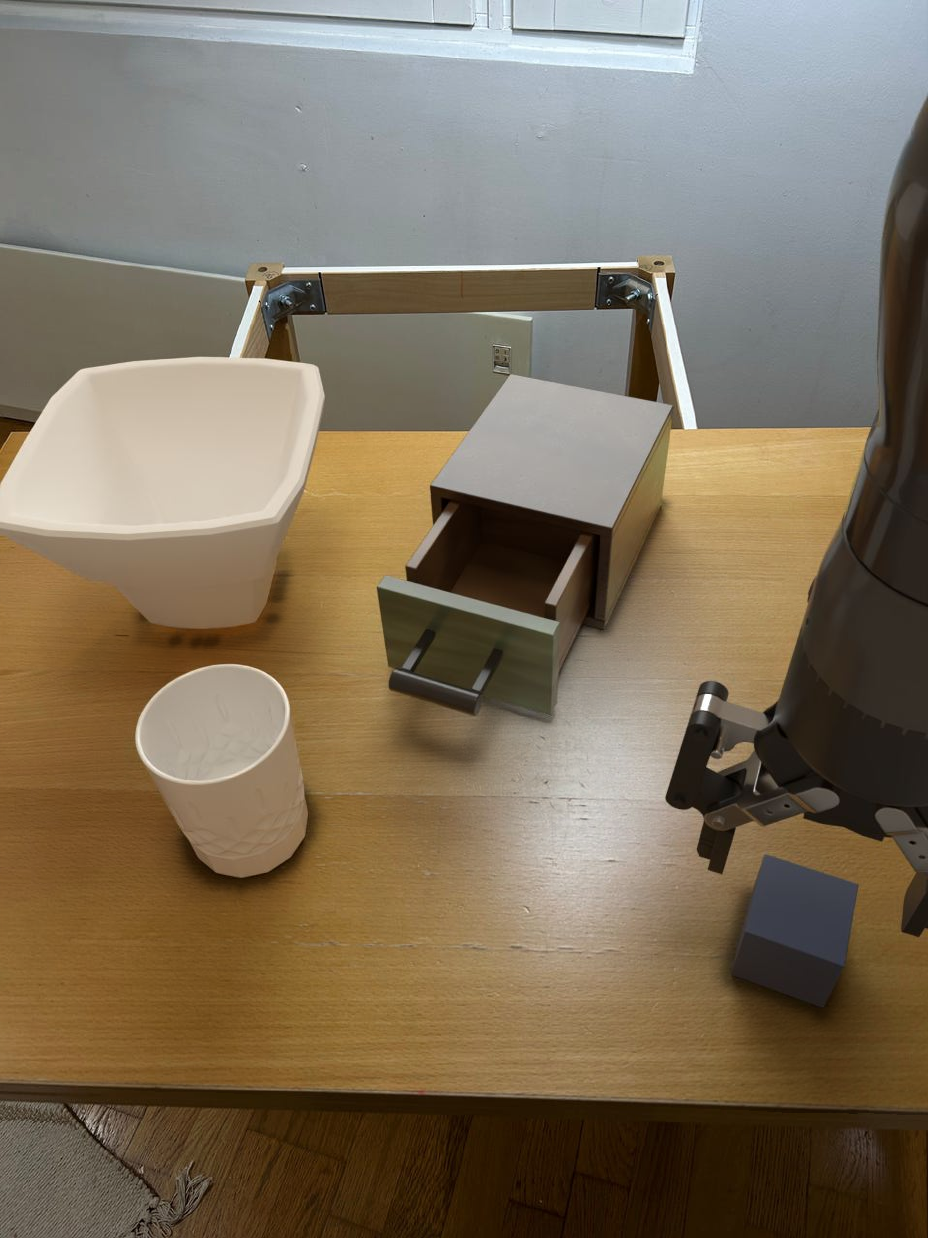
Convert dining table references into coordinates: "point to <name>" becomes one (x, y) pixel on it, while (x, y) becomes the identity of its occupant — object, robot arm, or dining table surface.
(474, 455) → the cabinet
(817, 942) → the block
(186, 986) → the dining table surface
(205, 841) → the white cup
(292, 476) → the bowl
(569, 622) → the drawer
